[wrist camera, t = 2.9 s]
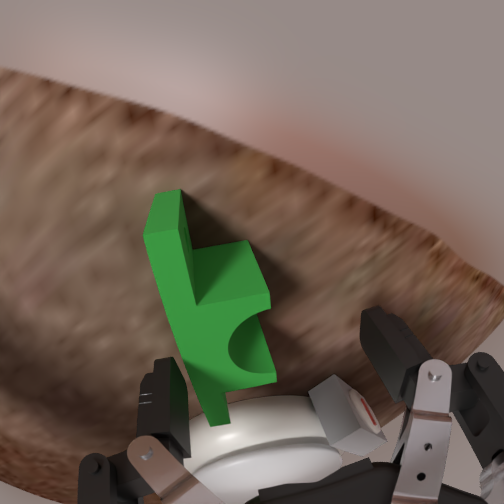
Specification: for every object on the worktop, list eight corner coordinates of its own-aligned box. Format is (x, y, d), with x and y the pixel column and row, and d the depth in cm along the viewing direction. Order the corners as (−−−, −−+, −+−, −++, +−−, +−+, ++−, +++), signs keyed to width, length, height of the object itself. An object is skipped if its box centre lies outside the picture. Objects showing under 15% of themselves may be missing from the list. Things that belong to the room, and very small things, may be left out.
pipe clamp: (261, 354, 19) (279, 414, 15) (202, 366, 18) (210, 427, 14) (240, 176, 13) (263, 215, 9) (155, 192, 13) (141, 237, 9)
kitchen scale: (246, 480, 29) (254, 516, 24) (136, 447, 22) (136, 496, 17) (383, 407, 26) (405, 445, 21) (307, 344, 19) (336, 406, 14)
